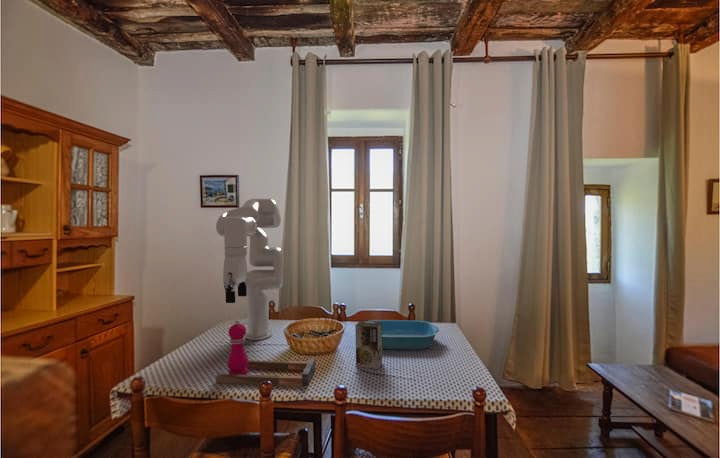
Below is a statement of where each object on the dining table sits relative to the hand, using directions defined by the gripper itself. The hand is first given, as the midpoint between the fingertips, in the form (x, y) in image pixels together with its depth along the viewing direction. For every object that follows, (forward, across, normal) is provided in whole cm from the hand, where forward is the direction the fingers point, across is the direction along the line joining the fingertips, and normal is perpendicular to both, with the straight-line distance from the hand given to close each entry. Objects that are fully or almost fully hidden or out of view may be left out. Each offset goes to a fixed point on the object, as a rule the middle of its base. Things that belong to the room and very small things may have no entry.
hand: (236, 299), depth 121 cm
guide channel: (+28, 0, +11) cm, 30 cm away
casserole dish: (+28, -35, +59) cm, 74 cm away
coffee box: (+28, -11, +47) cm, 56 cm away
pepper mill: (+28, 0, 0) cm, 28 cm away
